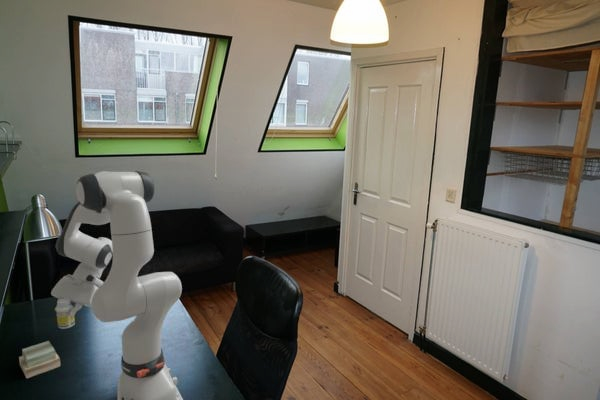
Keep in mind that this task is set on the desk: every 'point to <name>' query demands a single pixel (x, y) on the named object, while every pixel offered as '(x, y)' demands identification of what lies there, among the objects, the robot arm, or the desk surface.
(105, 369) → the desk surface
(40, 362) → the two-tone square platform
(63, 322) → the supplement bottle
